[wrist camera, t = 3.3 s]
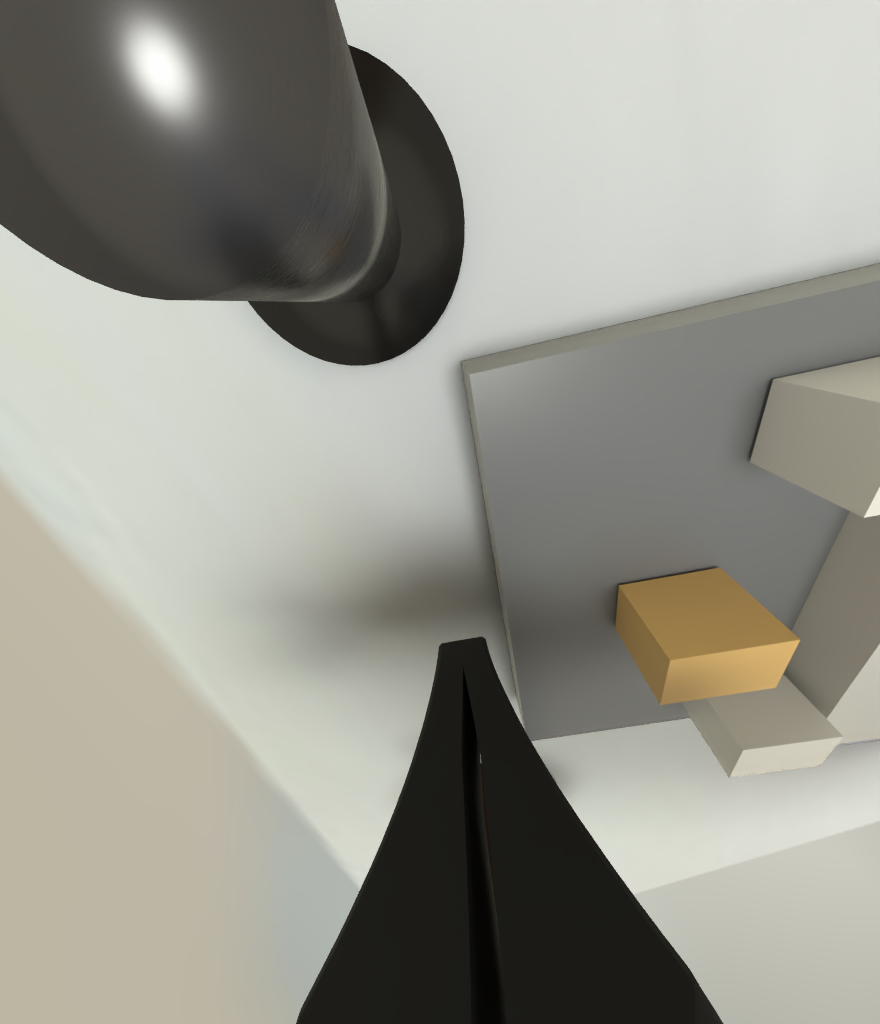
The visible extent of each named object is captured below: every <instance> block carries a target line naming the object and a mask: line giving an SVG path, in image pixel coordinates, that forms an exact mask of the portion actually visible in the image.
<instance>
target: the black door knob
mask: <svg viewBox="0 0 880 1024" xmlns="http://www.w3.org/2000/svg"><path fill="white" fill-rule="evenodd" d="M464 223H465V221H464V209H463V199H462V193H461V188H460V183H459V178H458V174H457V171H456V167H455V164H454V161H453V157H452V155H451V152H450V150H449V147H448V145H447V142H446V140H445V138H444V135H443V133H442V132H441V130H440V128H439V126H438V124H437V122H436V121H435V119H434V117H433V115H432V114H431V112H430V111H429V109H428V108H427V106H426V105H425V104H424V102H423V101H422V99H421V98H420V96H419V95H418V94H417V93H416V92H415V91H414V90H413V89H412V87H411V86H410V85H409V84H408V83H407V82H406V81H405V80H404V79H403V78H402V77H401V76H400V75H399V74H397V73H396V72H395V71H394V70H393V69H391V68H390V67H389V66H388V65H387V64H385V63H384V62H382V61H380V60H379V59H377V58H376V57H374V56H372V55H371V54H369V53H367V52H365V51H363V50H360V49H358V48H355V47H353V46H350V45H348V44H347V40H346V37H345V33H344V30H343V27H342V23H341V20H340V17H339V13H338V10H337V7H336V3H335V0H0V224H1V225H2V226H4V227H5V228H6V229H8V230H9V231H10V232H12V233H13V234H14V235H16V236H17V237H18V238H20V239H21V240H22V241H24V242H25V243H26V244H28V245H29V246H31V247H32V248H34V249H35V250H37V251H38V252H40V253H42V254H43V255H45V256H46V257H48V258H50V259H51V260H53V261H54V262H56V263H58V264H59V265H61V266H63V267H65V268H67V269H69V270H71V271H73V272H75V273H77V274H79V275H81V276H83V277H85V278H87V279H89V280H92V281H94V282H97V283H99V284H102V285H104V286H107V287H110V288H112V289H115V290H118V291H122V292H126V293H130V294H133V295H137V296H141V297H148V298H156V299H163V300H211V301H248V302H249V303H250V305H251V306H252V307H253V308H254V310H255V311H256V312H257V314H258V315H259V316H260V317H261V318H262V319H263V320H264V321H265V322H266V323H267V324H268V326H269V327H271V328H272V329H273V330H274V331H275V332H276V333H277V334H279V335H280V336H281V337H282V338H283V339H285V340H286V341H288V342H289V343H290V344H292V345H293V346H295V347H296V348H298V349H300V350H302V351H304V352H305V353H307V354H309V355H312V356H314V357H317V358H319V359H322V360H324V361H328V362H332V363H336V364H343V365H351V366H352V365H370V364H376V363H380V362H383V361H387V360H390V359H392V358H394V357H397V356H399V355H401V354H403V353H404V352H406V351H407V350H409V349H410V348H412V347H413V346H415V345H416V344H417V343H418V342H419V341H421V340H422V339H423V338H424V337H425V336H426V335H427V334H428V333H429V331H430V330H431V329H432V328H433V327H434V326H435V324H436V323H437V321H438V320H439V318H440V317H441V315H442V314H443V312H444V311H445V309H446V307H447V304H448V302H449V300H450V298H451V296H452V294H453V291H454V288H455V285H456V282H457V279H458V275H459V271H460V267H461V262H462V255H463V247H464Z"/></svg>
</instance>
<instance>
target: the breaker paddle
mask: <svg viewBox="0 0 880 1024" xmlns="http://www.w3.org/2000/svg"><path fill="white" fill-rule="evenodd" d="M615 629H616V631H617V632H618V634H619V636H620V637H621V639H622V641H623V642H624V644H625V646H626V648H627V649H628V651H629V653H630V654H631V656H632V658H633V660H634V661H635V663H636V665H637V666H638V668H639V670H640V672H641V673H642V675H643V677H644V678H645V680H646V682H647V683H648V685H649V687H650V689H651V690H652V692H653V694H654V695H655V697H656V699H657V701H658V702H659V704H660V705H664V704H671V703H678V702H684V701H691V700H698V699H704V698H711V697H718V696H724V695H731V694H738V693H744V692H751V691H758V690H764V689H771V688H776V686H777V684H778V682H779V680H780V679H781V677H782V675H783V673H784V671H785V669H786V667H787V665H788V663H789V661H790V659H791V657H792V655H793V653H794V651H795V650H796V648H797V646H798V644H799V642H800V639H799V638H798V637H797V636H796V635H795V634H794V633H793V632H792V631H790V630H789V629H788V628H787V627H786V626H785V625H784V624H783V623H781V622H780V621H779V620H778V619H777V618H776V617H775V616H774V615H773V614H771V613H770V612H769V611H768V610H767V609H766V608H765V607H764V606H762V605H761V604H760V603H759V602H758V601H757V600H756V599H755V598H754V597H752V596H751V595H750V594H749V593H748V592H747V591H746V590H745V589H743V588H742V587H741V586H740V585H739V584H738V583H737V582H736V581H735V580H733V579H732V578H731V577H730V576H729V575H728V574H727V573H726V572H724V571H723V570H722V569H721V568H715V569H709V570H703V571H698V572H692V573H686V574H681V575H675V576H669V577H664V578H658V579H653V580H647V581H641V582H636V583H630V584H624V585H619V588H618V600H617V612H616V624H615Z"/></svg>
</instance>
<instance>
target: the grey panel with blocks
mask: <svg viewBox="0 0 880 1024" xmlns="http://www.w3.org/2000/svg"><path fill="white" fill-rule="evenodd" d="M461 365H462V371H463V377H464V383H465V389H466V395H467V401H468V407H469V413H470V419H471V425H472V431H473V437H474V443H475V449H476V455H477V461H478V467H479V473H480V479H481V485H482V491H483V497H484V503H485V509H486V515H487V521H488V527H489V533H490V539H491V545H492V551H493V557H494V563H495V569H496V575H497V581H498V587H499V593H500V599H501V605H502V611H503V617H504V623H505V629H506V635H507V641H508V648H509V654H510V660H511V666H512V672H513V678H514V684H515V690H516V696H517V701H518V705H519V709H520V714H521V718H522V722H523V726H524V730H525V732H526V733H527V735H528V737H529V739H530V741H534V740H541V739H548V738H555V737H562V736H569V735H575V734H582V733H589V732H596V731H603V730H610V729H616V728H623V727H630V726H637V725H644V724H651V723H658V722H664V721H671V720H678V719H685V718H691V719H692V720H693V722H694V724H695V725H696V727H697V728H698V730H699V731H700V733H701V734H702V736H703V738H704V739H705V741H706V742H707V744H708V745H709V747H710V748H711V750H712V752H713V753H714V755H715V756H716V758H717V759H718V761H719V763H720V764H721V766H722V767H723V769H724V770H725V772H726V773H727V775H728V777H729V778H730V777H738V776H745V775H753V774H761V773H768V772H776V771H783V770H791V769H798V768H806V767H813V766H821V764H822V763H823V762H824V761H825V759H826V758H827V757H828V756H829V754H830V753H831V752H832V751H833V749H834V748H835V747H836V746H837V744H843V743H851V742H858V741H865V740H873V739H880V263H879V264H875V265H870V266H866V267H862V268H858V269H853V270H849V271H845V272H841V273H836V274H832V275H828V276H823V277H819V278H815V279H811V280H806V281H802V282H798V283H793V284H789V285H785V286H781V287H776V288H772V289H768V290H763V291H759V292H755V293H751V294H746V295H742V296H738V297H734V298H729V299H725V300H721V301H716V302H712V303H708V304H704V305H699V306H695V307H691V308H686V309H682V310H678V311H674V312H669V313H665V314H661V315H656V316H652V317H648V318H644V319H639V320H635V321H631V322H627V323H622V324H618V325H614V326H609V327H605V328H601V329H597V330H592V331H588V332H584V333H579V334H575V335H571V336H567V337H562V338H558V339H554V340H550V341H545V342H541V343H537V344H532V345H528V346H524V347H520V348H515V349H511V350H507V351H502V352H498V353H494V354H490V355H485V356H481V357H477V358H472V359H468V360H464V361H461ZM715 568H721V569H722V570H723V571H724V572H726V573H727V574H728V575H729V576H730V577H731V578H732V579H733V580H735V581H736V582H737V583H738V584H739V585H740V586H741V587H742V588H743V589H745V590H746V591H747V592H748V593H749V594H750V595H751V596H752V597H754V598H755V599H756V600H757V601H758V602H759V603H760V604H761V605H762V606H764V607H765V608H766V609H767V610H768V611H769V612H770V613H771V614H773V615H774V616H775V617H776V618H777V619H778V620H779V621H780V622H781V623H783V624H784V625H785V626H786V627H787V628H788V629H789V630H790V631H792V632H793V633H794V634H795V635H796V636H797V637H798V638H799V639H800V642H799V644H798V646H797V648H796V650H795V651H794V653H793V655H792V657H791V659H790V661H789V663H788V665H787V667H786V669H785V671H784V673H783V675H782V677H781V679H780V680H779V682H778V684H777V686H776V688H771V689H764V690H758V691H751V692H744V693H738V694H731V695H724V696H718V697H711V698H704V699H698V700H691V701H684V702H678V703H671V704H664V705H660V704H659V702H658V701H657V699H656V697H655V695H654V694H653V692H652V690H651V689H650V687H649V685H648V683H647V682H646V680H645V678H644V677H643V675H642V673H641V672H640V670H639V668H638V666H637V665H636V663H635V661H634V660H633V658H632V656H631V654H630V653H629V651H628V649H627V648H626V646H625V644H624V642H623V641H622V639H621V637H620V636H619V634H618V632H617V631H616V629H615V624H616V612H617V600H618V588H619V585H624V584H630V583H636V582H641V581H647V580H653V579H658V578H664V577H669V576H675V575H681V574H686V573H692V572H698V571H703V570H709V569H715Z"/></svg>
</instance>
